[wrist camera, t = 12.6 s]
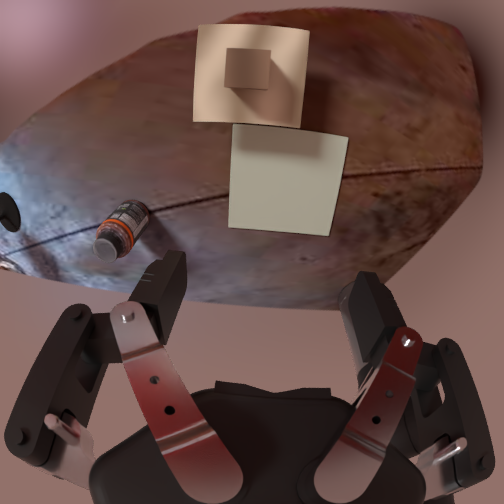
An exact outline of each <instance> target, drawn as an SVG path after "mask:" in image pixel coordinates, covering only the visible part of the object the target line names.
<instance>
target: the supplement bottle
mask: <svg viewBox="0 0 504 504" xmlns="http://www.w3.org/2000/svg"><path fill="white" fill-rule="evenodd" d="M148 223H149V213H148V210H147V208H146V207H145V206H144V205H143V204H142V203H141V202H139V201H136V200H127V201H125V202H123V203H122V204H121V205H120V206H119V207H118V208H117V209H116V210H115V211H114V212H113V213H112V214H111V215H110V216H109V217H108V218H107V219H106V220H105V221H104V222H103V223H102V224H101V225H100V226H99V228H98V230H97V233H96V240H95V242H94V244H93V250H94V253H95V255H96V256H97V257H98V258H99V259H100V260H101V261H103V262H105V263H112V262H114V261H115V260H116V259H117V258H122V257H124V256H126V255H127V254H128V253H129V252H130V250H131V249H132V247H133V246H134V244H135V243H136V241H137V240H138V239H139V237H140V236H141V234H142V233H143V231H144V230H145V229H146V227H147V225H148Z"/></svg>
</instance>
